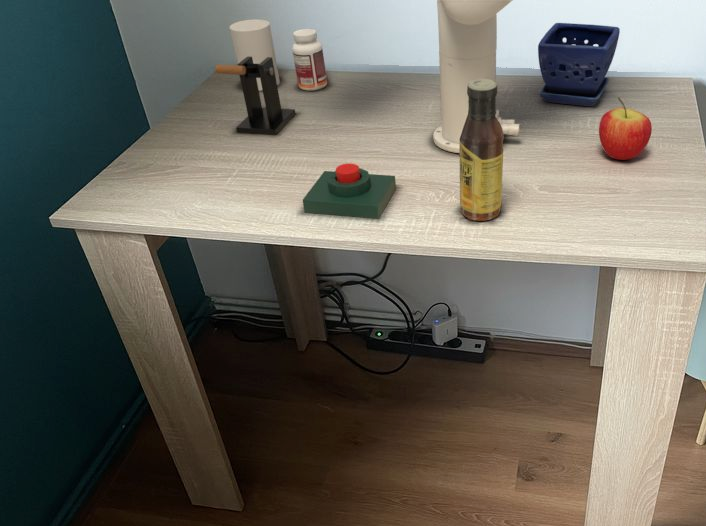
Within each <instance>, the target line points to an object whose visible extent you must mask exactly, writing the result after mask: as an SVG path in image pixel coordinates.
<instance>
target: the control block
mask: <svg viewBox="0 0 706 526" xmlns="http://www.w3.org/2000/svg"><path fill="white" fill-rule="evenodd" d="M359 171H360V180H358V181H356V182H353V183H340V182H338V181H337V176H336V170H334V171H333V170H332V171H330V170H323V172H322V173H321V175H320V176H319V177H318V179H317V180H316V181H315V183H314V184H313V185H312V186H311V188H310V189H309V191H307V193H306V195H305V196H303V199H302V205H303V211H304V213H306V214H307V213H308V214H318V215H331V216H341V217H343V216H344V217H354V218H367V219H380V217H381V215H382V213H383V212H384V210H385V208H386V206H387V204H388V203H389V201H390V200H391V198H392V196H393V195H394V193H395V191H396V189H397V184H396V176H395V175H389V174H375V173H369V172H368V170H365V169H363V168H361V167H359Z"/></svg>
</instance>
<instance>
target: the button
mask: <svg viewBox="0 0 706 526" xmlns="http://www.w3.org/2000/svg"><path fill="white" fill-rule="evenodd" d="M359 168H360V166H359V165H358V164H355V163H350V162H349V163H342V164H339V165H338V166H336V168H335V171H336V176H337V181H338V182H340V183H353V182H356V181H358V180H360V171H359Z"/></svg>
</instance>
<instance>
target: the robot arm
mask: <svg viewBox="0 0 706 526" xmlns="http://www.w3.org/2000/svg"><path fill="white" fill-rule="evenodd" d="M512 1H513V0H436V7H437V23H438V24H437V27H438V57H439V59H438V60H439V61H438V63H439V87H440V89H439V91H440V92H439V93H440V114H441V116H440V117H441V118H440V120H441V125H440V126H438V127H437V128H436V129H435V130H434V132H433V134H432V137H433V143H434V145H435V146H437V147H438V148H439V149H442V150H443V151H446V152H450V153H454V154H460V148H459V146H460V136H461V133H462V130H463V127H464V124H465V121H466V118H467V115H468V109H469V103H468V100H469V97H468V95H467V86H468V83H470V82H471V81H473V80H476V79H489V80H493V81H495V82H496V83H497V48H498V47H497V46H498V45H497V44H498V43H497V41H498V35H497V34H498V22H497V20H498V18H497V17H498V15H497V14H498V13H499V12H500V11H502V10H503V9H504V8H506V7H507V6H508V5H509V4H510V3H511V2H512ZM495 116H496V118H497V120H498V122H500V125H501V127H502V130H503V140H504V138H505V135H508V136H518V137H519V136H520V130H521V123H516V119H511V118H510V119H503V117H500V109H496V115H495Z"/></svg>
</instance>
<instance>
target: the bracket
mask: <svg viewBox="0 0 706 526" xmlns="http://www.w3.org/2000/svg"><path fill="white" fill-rule="evenodd" d="M248 63H252V64H253V59H252V57H249V56H247V57H246V58H245V59H244V60H242V61H241V62H240V63H239V64H237V63H236V65H238V66H245V67H248ZM258 69H259V74H260V80H261V85H262V90H261V91H262V96H263V100H264V105H265V107H263V104H262V100H261V94H260V91H259V89H258V84H257V79H256V78H251V77H248V73H245V74H244V75H239V79H240V84H242V85H241V88H242V93H243V98H244V104H245V108H246V113H247V116H246V118H244V120H242V121H241V122H240V123H239V124H238V125H237V126H236V127H235V130H236V133H237V134H238V133H239V134H257V135H273V136H276V135H278V134H279V132H280V131H281V130H282V129H284V127H285V126H286V125H287V124H288V123H289V122H290V121H291V120H292V119H293V117H295V115H297V114H296V109H294V108H292V109H291V108H282V104H281V99H280V94H279V89H278V88H279V87H278V85H277V82H276V76H275V71H274V65H273V59H272V57H267V58H266V59H265V60H263V61H262V62H261V63H260V64H259V65H258Z"/></svg>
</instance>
